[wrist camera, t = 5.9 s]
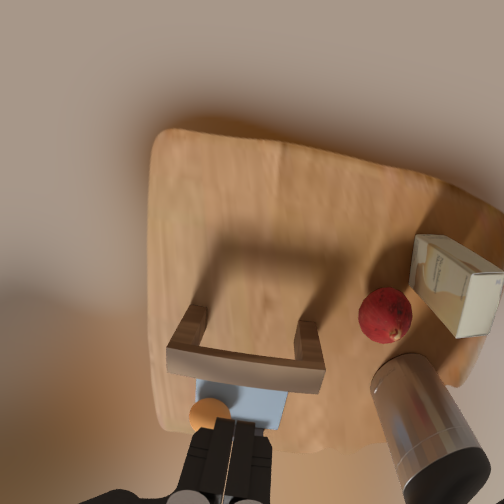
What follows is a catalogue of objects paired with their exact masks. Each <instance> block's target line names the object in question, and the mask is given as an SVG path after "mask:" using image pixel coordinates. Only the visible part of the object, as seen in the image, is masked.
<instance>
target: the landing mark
mask: <svg viewBox="0 0 504 504" xmlns="http://www.w3.org/2000/svg"><path fill="white" fill-rule="evenodd" d="M287 394H288V392H285V391H276V390H267V389H259V388H251V387H244V386H237V385H231V384H225V383H218V382H213V381H207V380H201V379H196V401H195V403H196V402H198V401H199V400H201V399H205V398H215V399H218V400H220V401H222V402H223V403H224V404H225V405H226V406H227V407H228V409H229V411H230V414H231V419H233V420H235V425H236V423H237V420H240V421H247V422H255V427H257V428H265V429H275V430H278V427H279V423H280V419H281V416H282V412H283V409H284V405H285V401H286V398H287Z"/></svg>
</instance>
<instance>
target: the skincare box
mask: <svg viewBox="0 0 504 504" xmlns="http://www.w3.org/2000/svg"><path fill="white" fill-rule="evenodd" d="M503 284H504V271H503V270H501V269H500V268H498V267H497V266H495V265H494V264H492V263H490V262H489V261H487V260H486V259H484V258H482V257H481V256H479V255H478V254H476V253H474V252H473V251H471V250H469V249H468V248H466V247H464V246H463V245H461V244H459V243H458V242H456V241H454V240H452V239H451V238H449V237H447V236H445V235H433V234H417V235H416V236H415V242H414V248H413V255H412V262H411V270H410V277H409V285H410V287H411V288H412V289H413V290H414V291H415V292H416V293H417V294H418V295H419V296H420V297H421V299H422V300H423V301H424V302H425V303H426V304H427V305H428V306H429V308H430V309H431V310H432V311H433V312H434V313H435V314H436V315H437V317H438V318H439V319H440V320H441V321H442V322H443V324H444V325H445V326H446V327H447V328H448V329H449V331H450V332H451V333H452V334H453V335H454V337H455V338H467V337H476V336H484V335H488V334H489V333H490V330H491V327H492V324H493V320H494V317H495V314H496V311H497V308H498V305H499V301H500V296H501V292H502V288H503Z"/></svg>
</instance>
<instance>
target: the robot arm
mask: <svg viewBox="0 0 504 504" xmlns="http://www.w3.org/2000/svg"><path fill="white" fill-rule="evenodd" d="M370 390H371V395H372V398H373V401H374V404H375V407H376V410H377V413H378V416H379V419H380V422H381V425H382V428H383V431H384V434H385V437H386V440H387V443H388V446H389V449H390V453H391V456H392V459H393V462H394V465H395V469H396V472H397V475H398V479H399V482H400V485H401V489H402V492H403V495H404V499H405V502H406V504H467V503H468V502H469V501H470V500H471V499H472V498H473V497H474V496H475V495H476V494H477V493H478V491H479V490H480V489H481V488H482V487H483V486H484V484H485V483H486V481H487V480H488V478H489V475H490V472H491V466H490V462H489V460H488V458H487V456H486V454H485V452H484V451H483V449H482V447H481V446H480V444H479V442H478V440H477V438H476V437H475V435H474V433H473V431H472V430H471V428H470V426H469V425H468V423H467V421H466V420H465V418H464V416H463V414H462V413H461V411H460V409H459V408H458V406H457V404H456V403H455V401H454V400H453V398H452V396H451V395H450V393H449V391H448V390H447V388H446V387H445V385H444V383H443V382H442V380H441V379H440V377H439V375H438V374H437V372H436V371H435V369H434V368H433V366H432V365H431V363H430V362H429V360H428V359H427V358H426V357H425V356H422V355H420V354H415V353H412V354H404V355H401V356H398V357H396V358H394V359H392V360H390V361H388V362H387V363H386V364H385V365H383V366H382V367H381V368H380V369H379V370H378V371H377V373H376V374H375V376H374V378H373V380H372V382H371V387H370ZM234 425H235V420H233V419H227V418H221V417H217V418H216V421H215V426H214V429H209V428H204V427H201V428H200V429H199V430H198V431H197V432H196V433H195V434H194V435H193V437H192V440H191V443H190V447H189V450H188V453H187V457H186V459H185V463H184V466H183V470H182V473H181V476H180V480H179V483H178V486H177V488H176V489H175V491H174V492H173V493H172V494H170V495H168V496H166V497H163V498H158V499H143V498H142V499H141V498H139V497H137V495H135V494H134V493H132V492H130V491H127V490H122V489H116V490H112V491H109V492H107V493H104V494H102V495H99V496H97V497H95V498H92V499H89V500H87V501H84V502H82V503H79V504H221V503H222V497H223V492H224V486H225V480H226V475H227V469H228V463H229V457H230V452H231V445H232V439H233V432H234ZM254 434H255V422H247V421H240V420H237V423H236V429H235V435H234V441H233V447H232V453H231V458H230V464H229V471H228V476H227V482H226V488H225V494H224V500H223V504H270V486H271V465H272V446H271V444H270V442H269V440H268V437H263V436H255V435H254ZM496 504H504V499H503V500H501V501H499V502H498V503H496Z"/></svg>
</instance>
